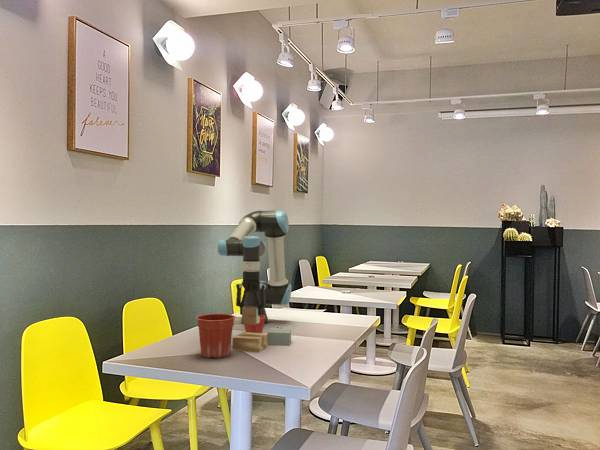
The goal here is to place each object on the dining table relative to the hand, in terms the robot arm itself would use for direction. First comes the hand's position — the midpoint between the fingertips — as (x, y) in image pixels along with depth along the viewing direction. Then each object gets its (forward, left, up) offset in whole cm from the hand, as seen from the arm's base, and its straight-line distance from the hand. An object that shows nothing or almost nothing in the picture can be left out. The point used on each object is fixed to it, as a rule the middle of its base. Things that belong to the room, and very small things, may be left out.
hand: (250, 322), depth 225 cm
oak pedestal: (0, 0, -12) cm, 12 cm away
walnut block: (0, 0, 0) cm, 0 cm away
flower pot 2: (-25, -8, -12) cm, 29 cm away
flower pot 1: (+15, -10, -12) cm, 21 cm away
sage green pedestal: (-14, +9, -12) cm, 20 cm away
